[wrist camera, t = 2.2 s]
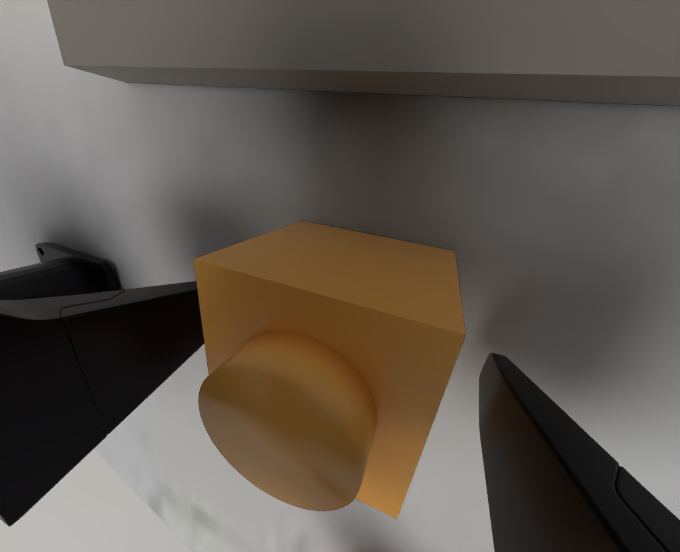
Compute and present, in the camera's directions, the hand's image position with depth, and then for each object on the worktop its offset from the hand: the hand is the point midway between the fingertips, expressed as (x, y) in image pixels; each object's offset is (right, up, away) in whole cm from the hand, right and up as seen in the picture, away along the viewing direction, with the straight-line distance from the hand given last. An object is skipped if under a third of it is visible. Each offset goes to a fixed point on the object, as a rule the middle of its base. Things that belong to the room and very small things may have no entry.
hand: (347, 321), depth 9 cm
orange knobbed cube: (+1, 0, +1) cm, 2 cm away
